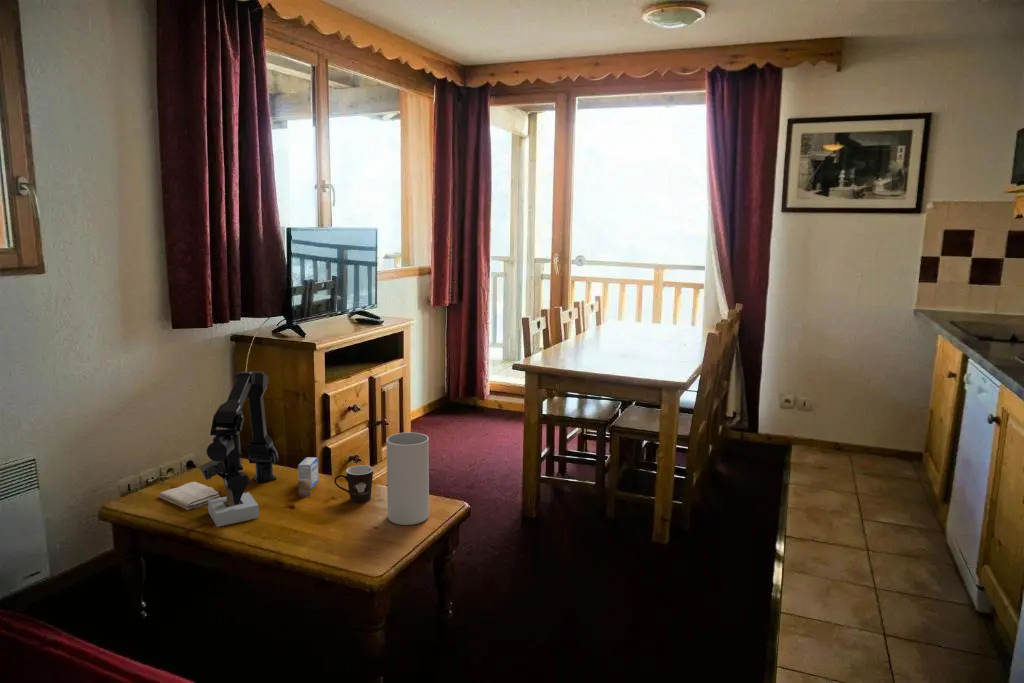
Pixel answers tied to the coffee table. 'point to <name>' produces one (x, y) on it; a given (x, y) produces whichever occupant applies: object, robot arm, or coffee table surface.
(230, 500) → the long dowel
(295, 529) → the coffee table surface
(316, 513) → the coffee table surface
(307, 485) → the short dowel
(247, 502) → the socket block
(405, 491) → the cylinder vase
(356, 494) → the coffee mug
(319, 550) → the coffee table surface
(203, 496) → the washcloth
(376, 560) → the coffee table surface
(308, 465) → the medicine box
